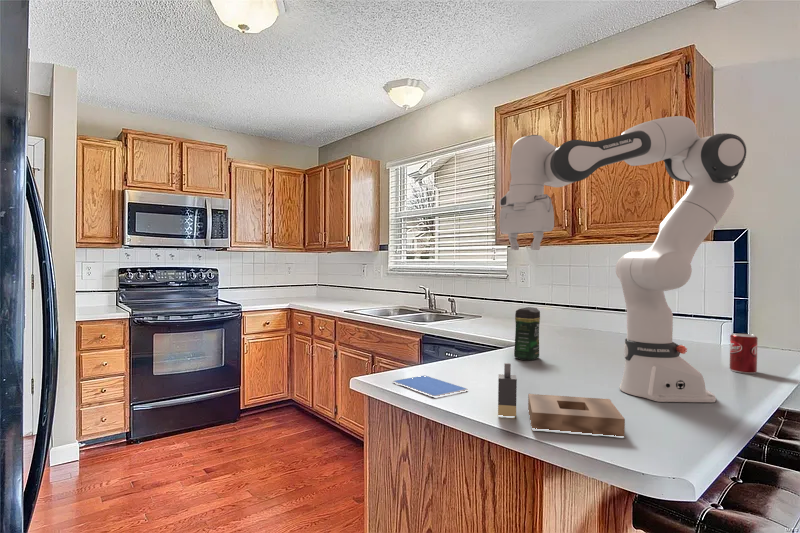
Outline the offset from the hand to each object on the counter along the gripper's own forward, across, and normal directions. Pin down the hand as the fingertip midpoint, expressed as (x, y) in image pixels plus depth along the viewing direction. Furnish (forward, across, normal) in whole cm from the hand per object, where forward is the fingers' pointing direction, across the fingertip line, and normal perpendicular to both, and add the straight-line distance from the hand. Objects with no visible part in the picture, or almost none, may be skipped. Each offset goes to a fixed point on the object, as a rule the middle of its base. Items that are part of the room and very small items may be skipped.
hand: (524, 250), depth 126 cm
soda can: (+37, +1, -85) cm, 93 cm away
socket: (+38, -23, +2) cm, 45 cm away
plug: (+39, -14, +13) cm, 43 cm away
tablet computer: (+40, +14, +20) cm, 47 cm away
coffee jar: (+38, +39, -29) cm, 62 cm away
